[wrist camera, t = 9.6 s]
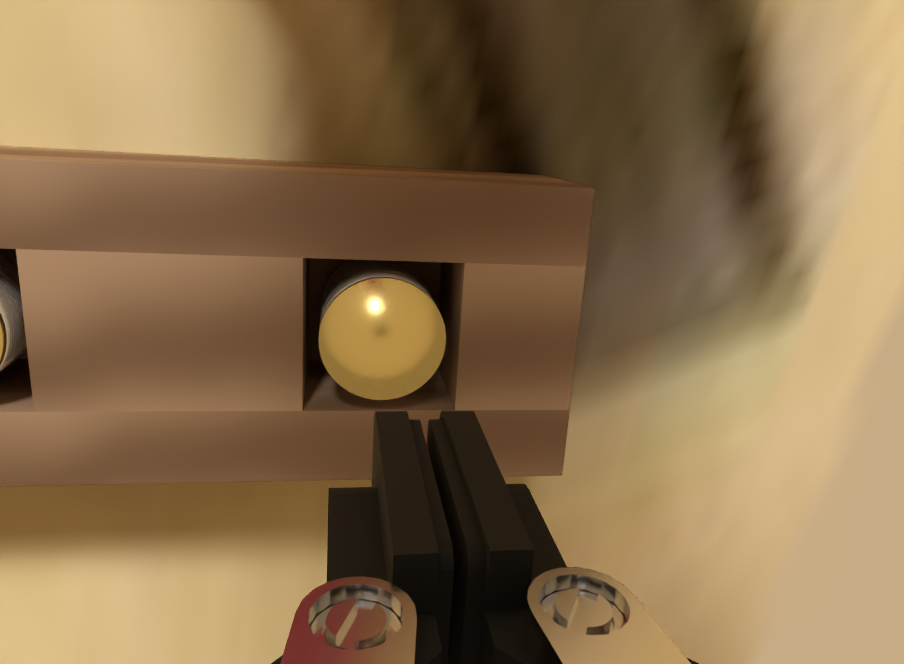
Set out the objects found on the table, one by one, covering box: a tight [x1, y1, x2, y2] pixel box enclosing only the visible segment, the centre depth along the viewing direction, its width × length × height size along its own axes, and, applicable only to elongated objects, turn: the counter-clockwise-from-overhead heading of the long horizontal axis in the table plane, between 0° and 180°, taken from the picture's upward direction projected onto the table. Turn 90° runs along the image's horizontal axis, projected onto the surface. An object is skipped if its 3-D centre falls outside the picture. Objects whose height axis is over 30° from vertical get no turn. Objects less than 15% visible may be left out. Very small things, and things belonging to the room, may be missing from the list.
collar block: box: [0, 146, 595, 486], centre depth 24 cm, size 10×26×6 cm, turn 87°
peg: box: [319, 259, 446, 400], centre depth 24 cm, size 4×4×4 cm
